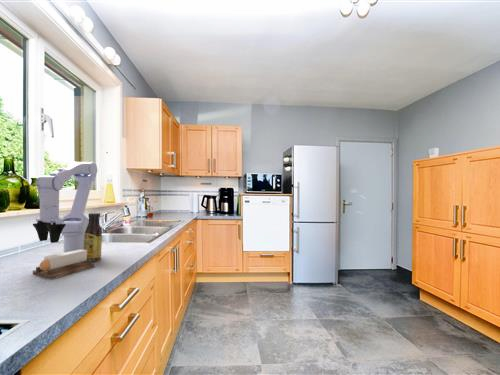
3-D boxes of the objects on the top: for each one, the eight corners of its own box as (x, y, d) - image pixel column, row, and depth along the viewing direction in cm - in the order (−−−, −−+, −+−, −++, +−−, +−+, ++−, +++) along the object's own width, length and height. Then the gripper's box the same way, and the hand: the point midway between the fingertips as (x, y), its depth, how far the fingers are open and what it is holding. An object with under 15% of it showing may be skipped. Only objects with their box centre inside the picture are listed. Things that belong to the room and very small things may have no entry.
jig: (75, 262, 96) (75, 256, 96) (94, 266, 91) (95, 260, 91) (32, 273, 83) (32, 266, 83) (52, 279, 78) (52, 271, 78)
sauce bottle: (79, 261, 97) (80, 213, 97) (94, 257, 103) (95, 212, 103) (90, 263, 94) (91, 214, 95) (105, 259, 100) (105, 212, 100)
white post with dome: (80, 261, 93) (80, 249, 94) (86, 263, 92) (86, 250, 92) (36, 273, 81) (37, 258, 81) (43, 274, 79) (43, 259, 79)
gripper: (26, 206, 91) (25, 241, 91) (47, 207, 85) (47, 245, 85) (48, 205, 97) (47, 238, 97) (69, 206, 91) (68, 241, 91)
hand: (48, 241), depth 91 cm, fingers open, 7 cm apart
